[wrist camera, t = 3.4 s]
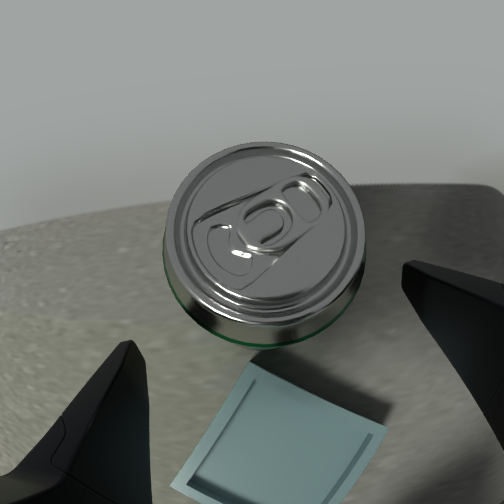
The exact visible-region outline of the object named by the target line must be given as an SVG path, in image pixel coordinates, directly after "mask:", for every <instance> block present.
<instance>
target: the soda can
mask: <svg viewBox="0 0 504 504" xmlns="http://www.w3.org/2000/svg"><path fill="white" fill-rule="evenodd" d="M162 255H163V263H164V270H165V274H166V277H167V280H168V283H169V286H170V288H171V290H172V292H173V294H174V296H175V298H176V300H177V301H178V302H179V304H180V305H181V306H182V308H183V309H184V310H185V312H186V313H187V314H188V315H189V316H190V317H191V318H192V319H193V320H194V321H195V322H196V323H197V324H198V325H200V326H201V327H203V328H204V329H206V330H207V331H209V332H210V333H212V334H213V335H215V336H218V337H220V338H222V339H224V340H226V341H229V342H231V343H233V344H236V345H238V346H241V347H243V348H246V349H250V350H256V351H265V350H271V349H275V348H279V347H283V346H287V345H291V344H295V343H299V342H301V341H303V340H306V339H308V338H310V337H313V336H315V335H317V334H318V333H320V332H321V331H323V330H324V329H326V328H327V327H329V326H330V325H331V324H332V323H333V322H334V321H336V320H337V319H338V318H339V317H340V316H341V315H342V314H343V312H344V311H345V310H346V309H347V307H348V306H349V305H350V303H351V302H352V300H353V298H354V296H355V295H356V293H357V291H358V289H359V286H360V283H361V280H362V277H363V274H364V269H365V262H366V241H365V223H364V218H363V213H362V209H361V207H360V204H359V202H358V199H357V197H356V195H355V193H354V192H353V190H352V188H351V186H350V185H349V184H348V182H347V181H346V180H345V179H344V177H343V176H342V175H341V174H340V173H339V172H338V171H337V170H336V169H335V168H334V167H332V165H330V164H329V163H328V162H326V161H325V160H323V159H322V158H320V157H319V156H317V155H315V154H313V153H311V152H309V151H307V150H304V149H301V148H299V147H296V146H293V145H288V144H283V143H276V142H251V143H246V144H240V145H237V146H233V147H230V148H227V149H224V150H222V151H220V152H218V153H216V154H214V155H212V156H210V157H209V158H207V159H206V160H205V161H203V162H202V163H200V164H199V165H198V166H197V167H196V168H195V169H193V170H192V171H191V172H190V173H189V175H188V176H187V177H186V178H185V179H184V181H183V182H182V183H181V185H180V186H179V188H178V190H177V191H176V193H175V195H174V197H173V200H172V202H171V205H170V207H169V211H168V216H167V220H166V228H165V232H164V237H163V252H162Z"/></svg>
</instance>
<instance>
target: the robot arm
mask: <svg viewBox="0 0 504 504" xmlns="http://www.w3.org/2000/svg"><path fill="white" fill-rule="evenodd" d="M401 285H402V289H403V291H404V293H405V294H406V296H407V298H408V299H409V301H410V303H411V304H412V306H413V308H414V309H415V311H416V313H417V314H418V316H419V318H420V319H421V321H422V322H423V324H424V325H425V327H426V328H427V330H428V331H429V332H430V334H431V335H432V337H433V338H434V339H435V341H436V342H437V344H438V345H439V346H440V348H441V349H442V351H443V352H444V354H445V355H446V356H447V358H448V359H449V361H450V362H451V364H452V365H453V367H454V368H455V370H456V371H457V373H458V374H459V376H460V377H461V379H462V380H463V382H464V383H465V385H466V387H467V388H468V390H469V391H470V393H471V394H472V396H473V398H474V399H475V401H476V403H477V404H478V406H479V407H480V409H481V411H482V412H483V414H484V416H485V418H486V420H487V421H488V423H489V425H490V426H491V428H492V430H493V432H494V433H495V435H496V437H497V439H498V441H499V443H500V444H501V446H502V448H503V450H504V284H502V283H501V284H500V283H498V282H495V281H491V280H488V279H484V278H481V277H477V276H473V275H470V274H466V273H462V272H459V271H455V270H451V269H447V268H443V267H440V266H436V265H432V264H428V263H424V262H420V261H416V260H412V261H409V262H406V263H404V265H403V268H402V282H401ZM0 504H152V491H151V474H150V445H149V396H148V386H147V375H146V363H145V360H144V357H143V356H142V354H141V352H140V351H139V349H138V347H137V345H136V344H135V342H134V341H132V340H128V341H123V342H120V343H119V345H118V346H117V347H116V348H115V349H114V350H113V352H112V353H111V354H110V355H109V356H108V358H107V359H106V360H105V361H104V362H103V364H102V365H101V366H100V367H99V368H98V370H97V371H96V372H95V373H94V375H93V376H92V377H91V378H90V379H89V381H88V382H87V383H86V384H85V386H84V387H83V388H82V389H81V391H80V392H79V393H78V394H77V395H76V397H75V398H74V399H73V400H72V402H71V403H70V404H69V405H68V407H67V408H66V409H65V411H64V412H63V413H62V416H60V417H59V418H58V419H57V421H56V422H55V423H54V424H53V426H52V427H51V428H50V429H49V431H48V432H47V433H46V434H45V435H44V437H43V438H42V439H41V440H40V441H39V442H38V443H37V445H36V446H35V447H34V448H33V449H32V450H31V451H30V452H29V453H28V454H27V456H26V457H25V458H24V459H23V460H22V461H21V462H20V463H19V464H18V466H17V467H16V468H15V469H14V470H12V471H11V472H9V473H7V474H5V475H3V476H0ZM501 504H504V501H503V502H502V503H501Z"/></svg>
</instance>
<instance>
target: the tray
mask: <svg viewBox="0 0 504 504" xmlns="http://www.w3.org/2000/svg"><path fill="white" fill-rule="evenodd" d="M388 429H389V428H388V427H386V426H384V425H382V424H380V423H378V422H376V421H373V420H371V419H369V418H366V417H364V416H361V415H359V414H357V413H354V412H352V411H350V410H348V409H345V408H343V407H341V406H339V405H336V404H334V403H332V402H330V401H328V400H326V399H324V398H321V397H319V396H317V395H315V394H313V393H311V392H309V391H307V390H305V389H303V388H301V387H299V386H297V385H295V384H293V383H291V382H289V381H287V380H285V379H283V378H281V377H279V376H277V375H275V374H273V373H271V372H270V371H268V370H266V369H264V368H262V367H260V366H258V365H257V364H255V363H253V362H251V361H249V362H248V364H247V366H246V367H245V369H244V371H243V372H242V374H241V376H240V377H239V379H238V381H237V382H236V384H235V386H234V387H233V389H232V391H231V392H230V394H229V396H228V397H227V399H226V401H225V402H224V404H223V405H222V407H221V409H220V410H219V412H218V413H217V415H216V417H215V418H214V420H213V421H212V423H211V424H210V426H209V428H208V429H207V431H206V432H205V434H204V435H203V437H202V439H201V440H200V442H199V443H198V445H197V446H196V448H195V449H194V451H193V452H192V454H191V455H190V457H189V458H188V460H187V461H186V463H185V464H184V466H183V467H182V469H181V470H180V472H179V473H178V475H177V476H176V478H175V479H174V481H173V482H172V483H171V485H170V487H172V488H174V489H176V490H177V491H179V492H181V493H183V494H185V495H186V496H188V497H190V498H192V499H194V500H196V501H198V502H200V503H202V504H340V503H341V501H342V500H343V499H344V497H345V496H346V495H347V493H348V492H349V491H350V489H351V488H352V486H353V485H354V484H355V482H356V481H357V479H358V478H359V476H360V475H361V473H362V472H363V470H364V469H365V467H366V466H367V464H368V463H369V461H370V460H371V458H372V456H373V455H374V453H375V452H376V450H377V448H378V447H379V445H380V443H381V441H382V440H383V438H384V436H385V435H386V433H387V431H388Z"/></svg>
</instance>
